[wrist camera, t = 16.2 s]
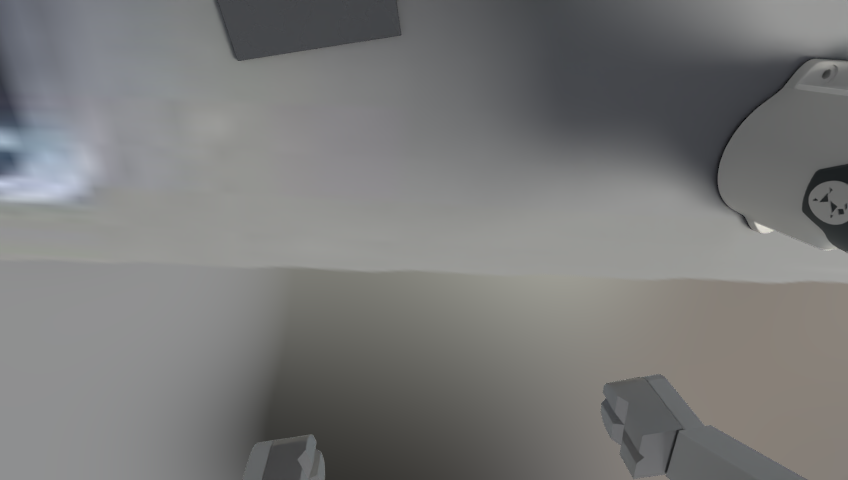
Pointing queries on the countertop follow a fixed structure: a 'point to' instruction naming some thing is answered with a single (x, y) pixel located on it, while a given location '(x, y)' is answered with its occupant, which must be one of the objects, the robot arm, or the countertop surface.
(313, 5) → the grey base plate
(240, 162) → the countertop surface
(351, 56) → the countertop surface
